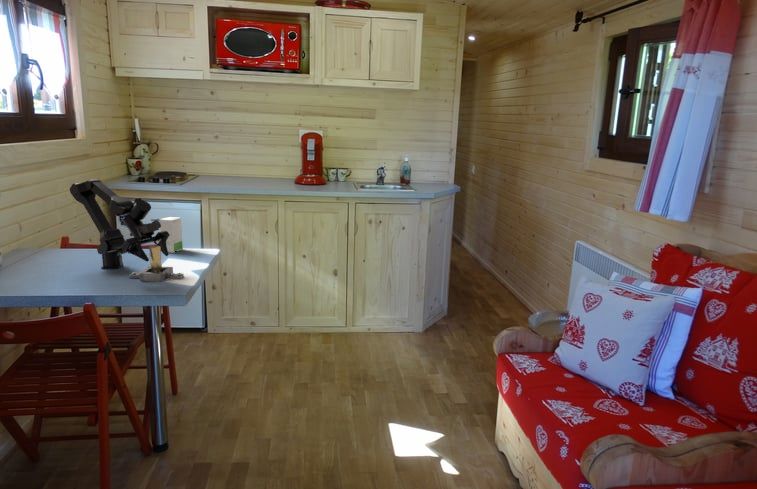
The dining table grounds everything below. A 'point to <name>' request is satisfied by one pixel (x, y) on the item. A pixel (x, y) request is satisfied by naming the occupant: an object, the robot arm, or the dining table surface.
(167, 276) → the chain joint
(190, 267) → the dining table surface
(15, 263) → the dining table surface
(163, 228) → the skincare box
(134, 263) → the dining table surface
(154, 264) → the tan wooden block
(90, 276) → the dining table surface
